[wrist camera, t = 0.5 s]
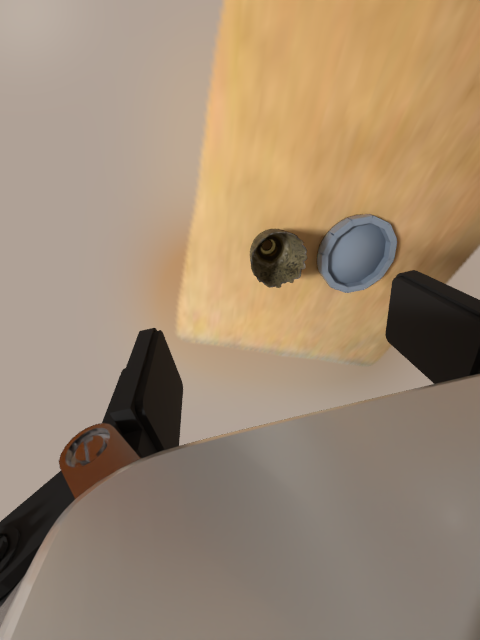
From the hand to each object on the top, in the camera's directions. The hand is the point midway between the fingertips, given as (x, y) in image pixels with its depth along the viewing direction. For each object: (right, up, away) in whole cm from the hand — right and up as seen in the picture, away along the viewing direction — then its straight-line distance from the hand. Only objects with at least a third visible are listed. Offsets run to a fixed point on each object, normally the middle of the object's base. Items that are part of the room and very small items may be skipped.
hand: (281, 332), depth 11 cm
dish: (+17, +11, +33) cm, 38 cm away
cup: (+2, +12, +30) cm, 33 cm away
